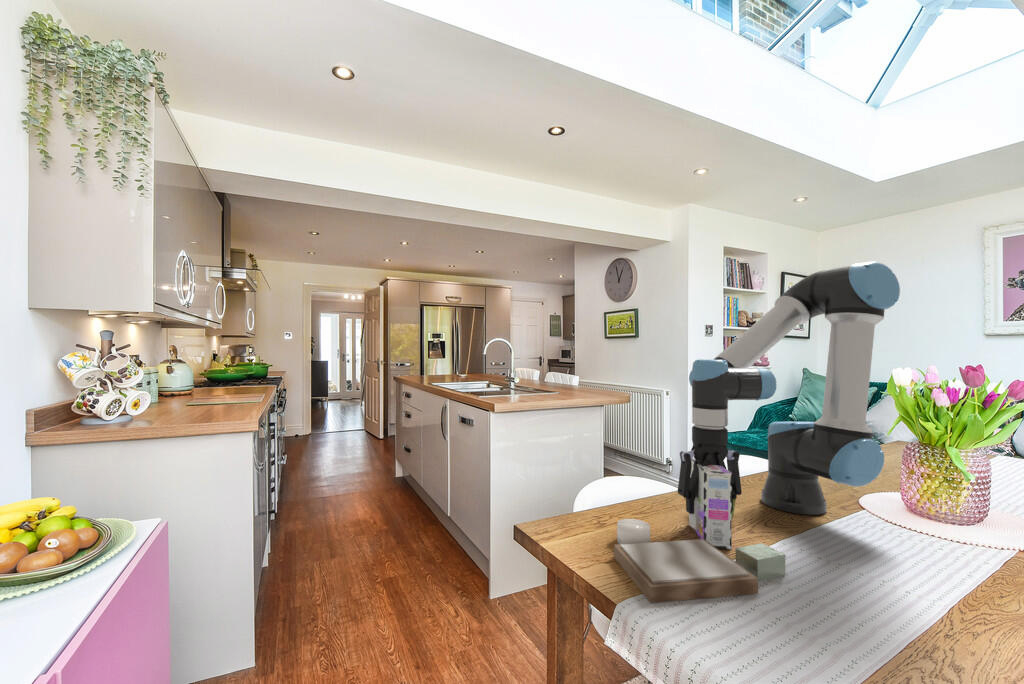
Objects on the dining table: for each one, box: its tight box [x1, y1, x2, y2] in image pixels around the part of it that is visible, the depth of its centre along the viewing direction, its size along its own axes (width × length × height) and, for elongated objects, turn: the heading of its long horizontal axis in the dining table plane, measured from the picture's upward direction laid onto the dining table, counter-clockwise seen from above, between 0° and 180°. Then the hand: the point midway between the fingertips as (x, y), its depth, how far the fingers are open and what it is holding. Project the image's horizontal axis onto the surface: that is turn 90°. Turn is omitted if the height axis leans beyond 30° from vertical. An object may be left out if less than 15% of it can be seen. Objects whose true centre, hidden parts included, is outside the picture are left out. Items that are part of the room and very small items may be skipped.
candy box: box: [691, 456, 733, 550], centre depth 99 cm, size 14×6×16 cm, turn 169°
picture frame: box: [613, 538, 759, 604], centre depth 82 cm, size 20×16×3 cm
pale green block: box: [734, 542, 786, 581], centre depth 83 cm, size 7×5×4 cm
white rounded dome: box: [616, 518, 651, 544], centre depth 95 cm, size 7×7×4 cm
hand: (709, 526), depth 99 cm, fingers closed on candy box, 7 cm apart
